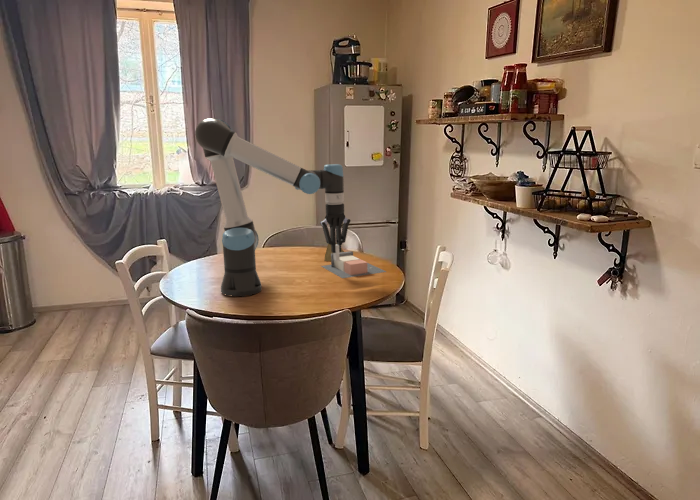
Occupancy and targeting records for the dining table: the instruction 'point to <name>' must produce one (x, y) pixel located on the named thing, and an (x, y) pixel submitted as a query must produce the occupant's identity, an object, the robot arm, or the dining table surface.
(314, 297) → the dining table surface
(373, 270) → the mat
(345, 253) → the clamped cream block
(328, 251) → the rock
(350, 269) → the stub
